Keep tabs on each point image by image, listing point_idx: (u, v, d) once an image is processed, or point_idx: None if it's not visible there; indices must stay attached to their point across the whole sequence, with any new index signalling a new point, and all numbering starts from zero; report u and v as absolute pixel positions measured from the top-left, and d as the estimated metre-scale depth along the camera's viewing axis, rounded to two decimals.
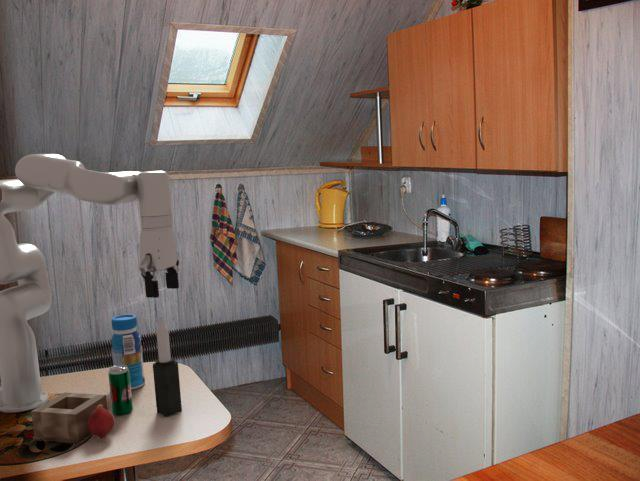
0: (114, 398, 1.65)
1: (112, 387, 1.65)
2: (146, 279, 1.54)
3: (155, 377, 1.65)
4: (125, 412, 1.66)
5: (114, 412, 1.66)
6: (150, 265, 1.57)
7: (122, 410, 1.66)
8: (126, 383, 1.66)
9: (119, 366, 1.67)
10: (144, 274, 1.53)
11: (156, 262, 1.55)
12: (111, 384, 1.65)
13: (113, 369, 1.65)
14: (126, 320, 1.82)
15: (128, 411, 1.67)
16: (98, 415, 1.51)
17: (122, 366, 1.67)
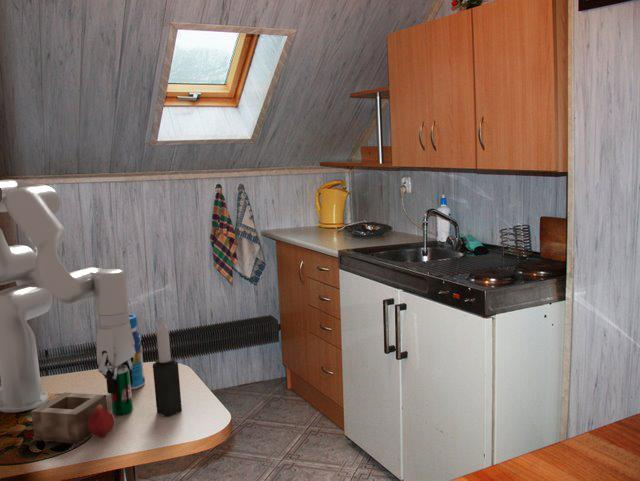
0: (114, 398, 1.65)
1: None
2: (107, 377, 1.63)
3: (155, 377, 1.65)
4: (125, 412, 1.66)
5: (114, 412, 1.66)
6: (108, 361, 1.64)
7: (122, 410, 1.66)
8: (126, 383, 1.66)
9: (119, 366, 1.67)
10: (105, 374, 1.61)
11: (112, 360, 1.61)
12: None
13: None
14: None
15: (128, 411, 1.67)
16: (98, 415, 1.51)
17: (122, 366, 1.67)
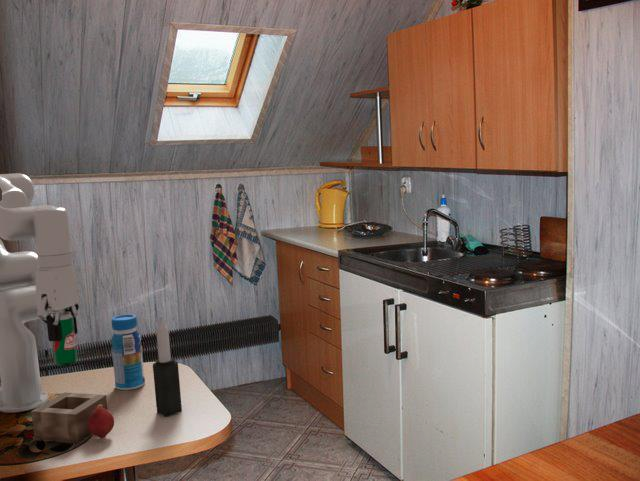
0: (56, 346, 1.54)
1: None
2: (47, 323, 1.51)
3: (155, 377, 1.65)
4: (68, 362, 1.54)
5: (56, 362, 1.54)
6: (49, 306, 1.52)
7: (65, 359, 1.54)
8: (69, 330, 1.54)
9: (62, 312, 1.55)
10: (45, 319, 1.49)
11: (52, 303, 1.49)
12: None
13: None
14: (126, 320, 1.82)
15: (72, 361, 1.55)
16: (98, 415, 1.51)
17: (65, 313, 1.56)
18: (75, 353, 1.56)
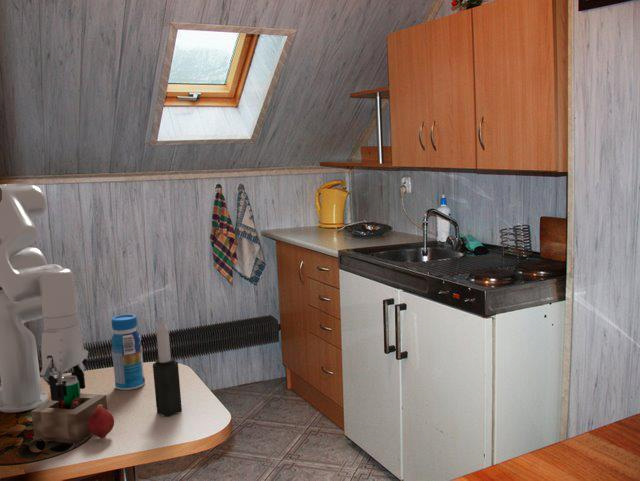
0: None
1: None
2: (50, 383, 1.52)
3: (155, 377, 1.65)
4: None
5: None
6: (54, 366, 1.54)
7: None
8: (75, 395, 1.56)
9: (69, 377, 1.58)
10: (47, 380, 1.50)
11: (58, 365, 1.51)
12: None
13: (61, 380, 1.56)
14: (126, 320, 1.82)
15: None
16: (98, 415, 1.51)
17: (72, 377, 1.58)
18: None
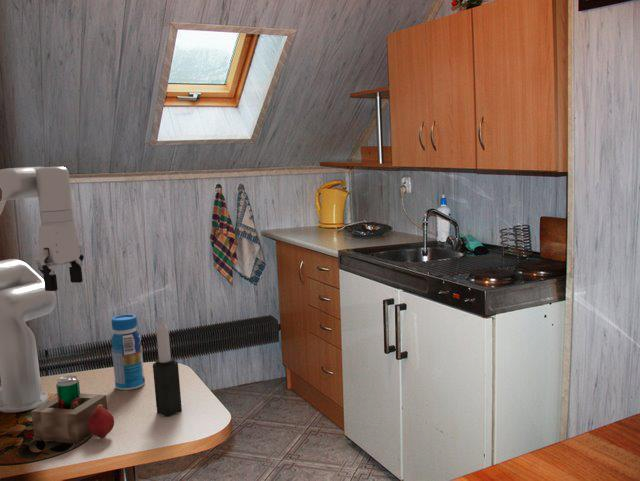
0: None
1: (59, 399, 1.56)
2: (44, 273, 1.57)
3: (155, 377, 1.65)
4: None
5: None
6: (49, 259, 1.60)
7: None
8: (75, 395, 1.56)
9: (68, 377, 1.58)
10: (41, 268, 1.56)
11: (54, 256, 1.58)
12: (59, 396, 1.56)
13: (61, 380, 1.56)
14: (126, 320, 1.82)
15: None
16: (99, 415, 1.51)
17: (71, 377, 1.58)
18: None
